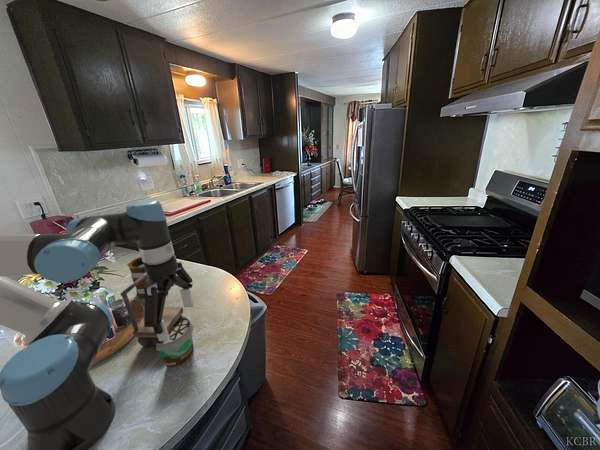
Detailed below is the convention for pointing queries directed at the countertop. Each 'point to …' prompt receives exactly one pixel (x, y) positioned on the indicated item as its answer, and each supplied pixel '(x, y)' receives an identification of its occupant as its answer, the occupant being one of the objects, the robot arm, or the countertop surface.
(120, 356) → the countertop surface
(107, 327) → the robot arm
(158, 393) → the countertop surface
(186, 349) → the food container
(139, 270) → the mug
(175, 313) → the trolley
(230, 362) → the countertop surface
